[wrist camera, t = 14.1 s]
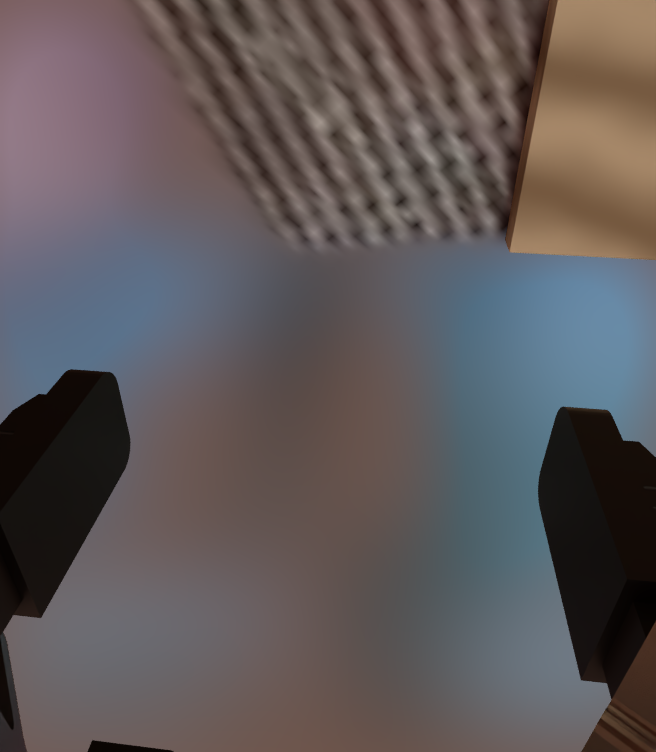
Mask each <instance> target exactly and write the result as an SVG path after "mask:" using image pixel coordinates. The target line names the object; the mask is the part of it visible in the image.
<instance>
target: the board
mask: <svg viewBox="0 0 656 752" xmlns="http://www.w3.org/2000/svg"><path fill="white" fill-rule="evenodd" d="M505 240H506V243H507V246H508V249H509V252H514V253H515V252H516V253H533V254H552V255H553V254H554V255H573V256H592V257H611V258H629V259H630V258H631V259H649V260H656V0H549V5H548V11H547V16H546V21H545V27H544V32H543V38H542V43H541V49H540V54H539V59H538V65H537V70H536V76H535V81H534V86H533V92H532V97H531V103H530V108H529V114H528V119H527V124H526V130H525V135H524V141H523V146H522V151H521V157H520V162H519V168H518V173H517V178H516V184H515V189H514V195H513V200H512V206H511V211H510V216H509V222H508V227H507V233H506V238H505Z"/></svg>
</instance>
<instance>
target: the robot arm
mask: <svg viewBox="0 0 656 752" xmlns="http://www.w3.org/2000/svg"><path fill="white" fill-rule="evenodd" d="M129 453H130V435H129V431H128V427H127V422H126V418H125V413H124V409H123V405H122V400H121V396H120V392H119V387H118V383H117V380H116V377H115V376H114V375H113V374H112V373H110V372H99V371H86V370H72V369H71V370H68V371H66V372H65V373H64V374H63V375H62V376H61V378H60V379H59V380H58V381H57V382H56V384H55V385H54V386H53V387H52V388H51V389H50V391H49V392H48V393H47V394H46V395H44V394H38V395H37V396H35V397H34V398H32V399H30V400H29V401H27V402H26V403H24V404H22V405H21V406H19V407H18V408H16V409H15V410H13V411H12V412H11V413H10V414H9V415H8V417H7V418H6V419H5V420H4V421H3V422H2V423H1V424H0V752H27V750H26V746H25V742H24V738H23V732H22V726H21V720H20V714H19V708H18V702H17V697H16V691H15V685H14V679H13V674H12V668H11V662H10V657H9V651H8V644H7V641H6V637H5V635H4V633H3V631H4V629H5V628H6V626H7V624H8V623H9V621H10V619H11V618H12V616H13V615H19V616H28V617H37V618H41V617H42V615H43V613H44V612H45V610H46V608H47V606H48V604H49V603H50V601H51V599H52V597H53V595H54V594H55V592H56V590H57V589H58V587H59V585H60V583H61V582H62V580H63V578H64V576H65V574H66V573H67V571H68V569H69V567H70V566H71V564H72V562H73V560H74V558H75V557H76V555H77V553H78V551H79V550H80V548H81V546H82V544H83V543H84V541H85V539H86V537H87V535H88V533H89V532H90V530H91V528H92V527H93V525H94V523H95V521H96V520H97V517H98V516H99V514H100V512H101V511H102V508H103V507H104V505H105V504H106V502H107V500H108V498H109V496H110V495H111V493H112V491H113V489H114V487H115V485H116V484H117V482H118V480H119V478H120V477H121V475H122V473H123V472H124V470H125V468H126V465H127V462H128V459H129ZM538 497H539V506H540V511H541V515H542V519H543V523H544V527H545V532H546V536H547V540H548V544H549V548H550V553H551V557H552V561H553V565H554V569H555V573H556V578H557V581H558V586H559V590H560V594H561V598H562V603H563V607H564V611H565V615H566V619H567V624H568V628H569V632H570V636H571V640H572V644H573V649H574V652H575V657H576V661H577V665H578V669H579V674H580V678H581V680H583V681H592V682H602V683H607V684H608V688H609V692H610V696H611V699H612V700H611V702H610V704H609V705H608V707H607V708H606V710H605V711H604V713H603V715H602V717H601V718H600V720H599V722H598V723H597V725H596V727H595V729H594V731H593V732H592V734H591V736H590V737H589V739H588V741H587V743H586V745H585V747H584V748H583V750H582V752H656V457H654V456H653V455H652V454H651V453H650V452H649V451H648V450H647V449H646V448H645V447H644V446H643V445H642V444H641V443H640V442H635V441H623V439H622V437H621V435H620V433H619V430H618V428H617V426H616V424H615V421H614V419H613V417H612V415H611V413H610V412H609V411H608V410H599V409H586V408H573V407H572V408H571V407H561V408H560V409H559V411H558V412H557V415H556V418H555V421H554V425H553V428H552V432H551V435H550V439H549V443H548V446H547V450H546V453H545V457H544V460H543V464H542V467H541V471H540V476H539V485H538ZM88 752H173V751H171V750H163V749H155V748H148V747H140V746H132V745H124V744H116V743H109V742H101V741H92V742H91V745H90V747H89V750H88Z"/></svg>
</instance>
